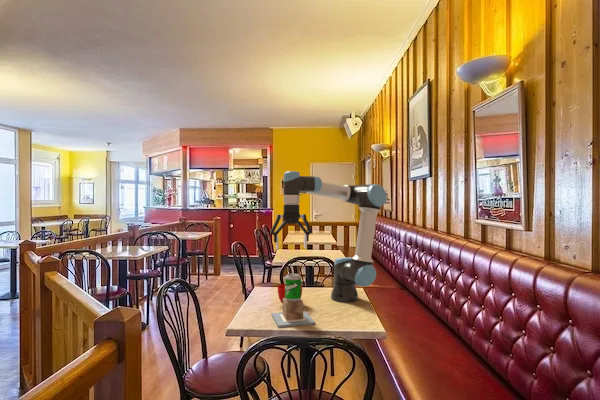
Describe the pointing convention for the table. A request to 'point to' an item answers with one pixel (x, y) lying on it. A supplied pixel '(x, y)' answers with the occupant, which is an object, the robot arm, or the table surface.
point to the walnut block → (292, 310)
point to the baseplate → (282, 321)
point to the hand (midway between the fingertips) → (291, 248)
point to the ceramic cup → (283, 292)
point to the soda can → (293, 287)
